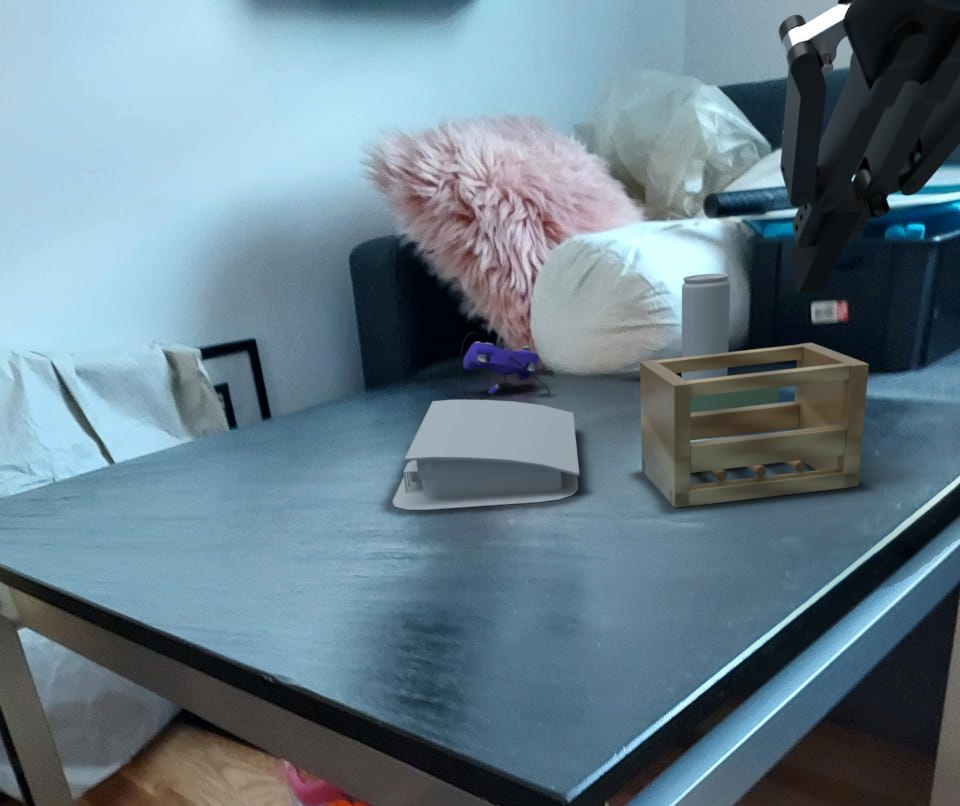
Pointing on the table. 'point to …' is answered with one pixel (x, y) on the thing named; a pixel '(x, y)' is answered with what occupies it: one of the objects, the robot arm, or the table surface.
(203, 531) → the table surface
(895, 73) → the robot arm
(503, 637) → the table surface
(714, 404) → the stop rail
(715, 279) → the beverage can
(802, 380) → the rack
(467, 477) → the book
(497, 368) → the game controller
